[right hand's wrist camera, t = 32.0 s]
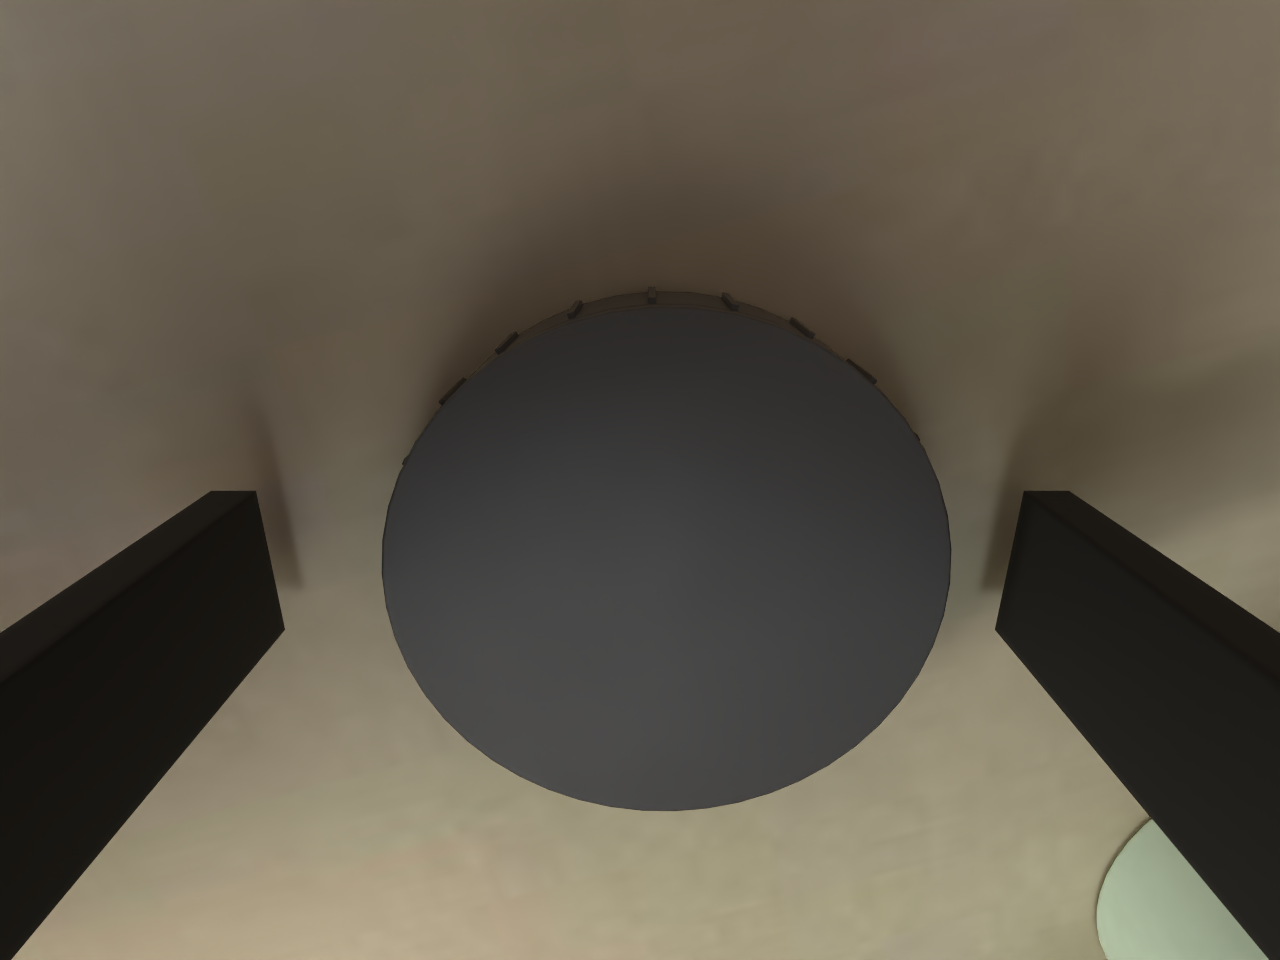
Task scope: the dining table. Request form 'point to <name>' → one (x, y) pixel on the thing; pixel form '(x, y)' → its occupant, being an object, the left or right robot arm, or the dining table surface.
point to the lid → (666, 553)
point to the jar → (1165, 908)
